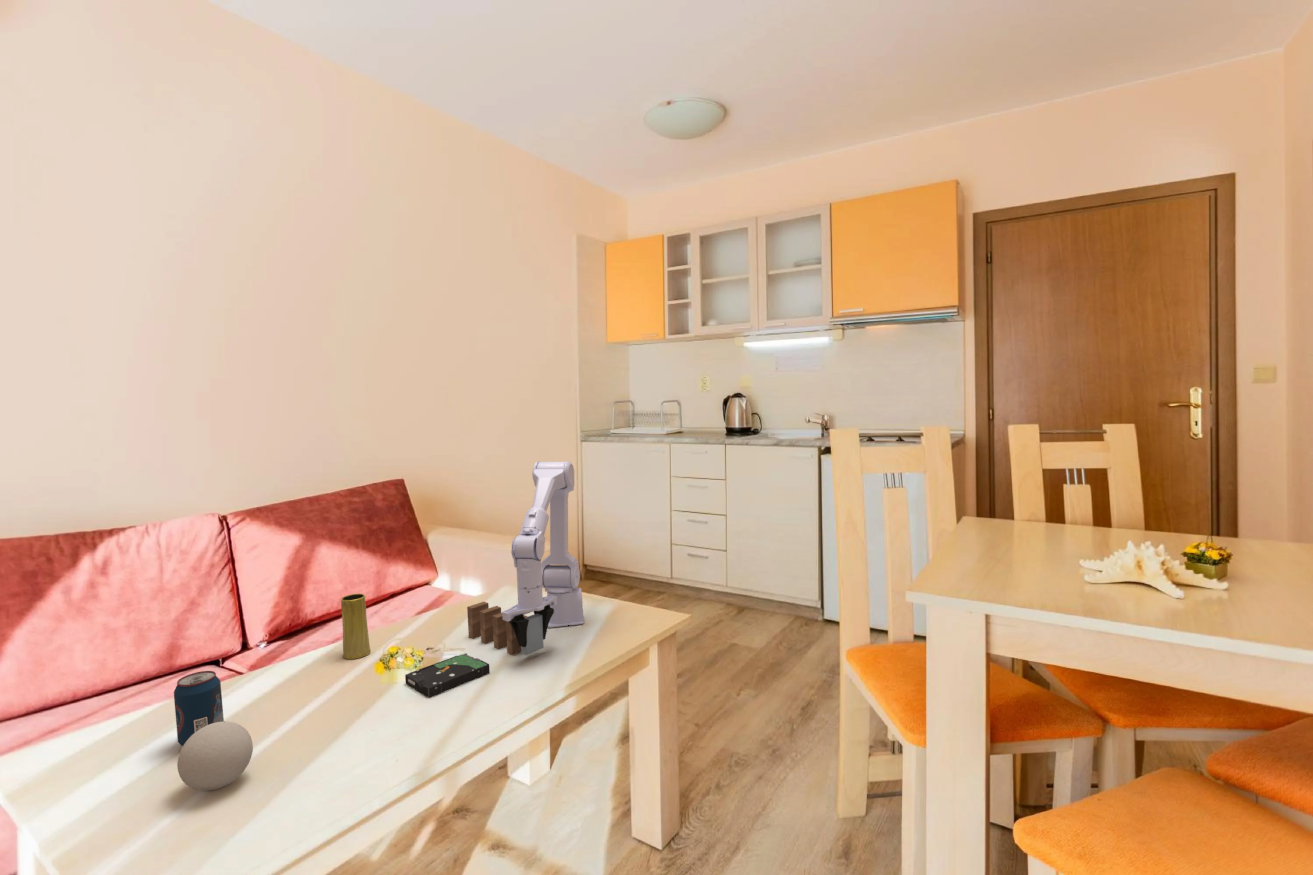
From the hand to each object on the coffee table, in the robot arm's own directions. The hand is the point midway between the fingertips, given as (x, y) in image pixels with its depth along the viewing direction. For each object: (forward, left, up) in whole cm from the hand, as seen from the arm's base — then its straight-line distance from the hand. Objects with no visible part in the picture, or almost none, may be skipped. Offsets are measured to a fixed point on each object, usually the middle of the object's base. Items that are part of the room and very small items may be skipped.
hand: (532, 641), depth 149 cm
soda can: (+60, +20, -4) cm, 64 cm away
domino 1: (+10, -13, -4) cm, 17 cm away
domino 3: (+3, -5, -4) cm, 7 cm away
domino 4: (0, 0, -2) cm, 2 cm away
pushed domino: (+13, -18, -4) cm, 22 cm away
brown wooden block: (+6, -9, -4) cm, 12 cm away
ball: (+51, +36, -4) cm, 63 cm away
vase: (+41, -14, -4) cm, 44 cm away
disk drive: (+18, +6, -4) cm, 20 cm away
